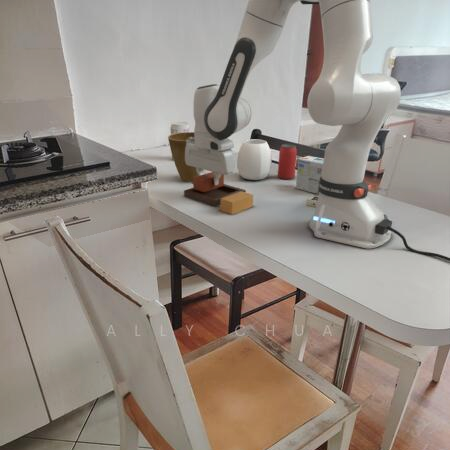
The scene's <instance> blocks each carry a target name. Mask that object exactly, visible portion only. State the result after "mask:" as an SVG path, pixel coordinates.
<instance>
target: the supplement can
mask: <svg viewBox="0 0 450 450" xmlns="http://www.w3.org/2000/svg"><path fill="white" fill-rule="evenodd" d="M169 130H170V135H172V134H176V133H184V132H191V131H190V125H189V123H188V122H186V121H175V122H172V123H171V125H170V129H169ZM171 158H172V159H173V156H172V155H171Z"/></svg>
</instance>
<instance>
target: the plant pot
mask: <svg viewBox="0 0 450 450" xmlns="http://www.w3.org/2000/svg"><path fill="white" fill-rule="evenodd" d="M189 137H193V138H194V131H190V132H184V133H176V134H172V135H171V134H170V135H168V136H167V139H168V143H169V148H170V152H171V157H172V156H173V158H172V160H173V162H174V166H175V168H176V170H177V173H178V175H179V178H180V180H181V181H182V182H185V183H193V177H196V176H199V175H198V173H197V171H196V167H193V166H189V165H186V163H185V147H186V140H187V139H188V138H189ZM202 171H203V172H204V171H205V170H204V169H203V170H202Z"/></svg>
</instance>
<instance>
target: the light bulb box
mask: <svg viewBox="0 0 450 450" xmlns="http://www.w3.org/2000/svg"><path fill="white" fill-rule="evenodd" d="M297 161H298V162H297V171H296V181H295V189H297V190H301V191H305V192H308V193H313V194H317V195H318V187H319V181H320V177H321V176H322V170H323V162H324V157H318V156H317V157H316V156H312V155H306V156H303V157H299V158H298V160H297Z"/></svg>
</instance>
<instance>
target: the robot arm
mask: <svg viewBox="0 0 450 450" xmlns="http://www.w3.org/2000/svg"><path fill="white" fill-rule="evenodd" d="M297 2H300V3H301V5H319V10H320V18H321V27H322V38H323V39H322V40H323V51H324V52H323V62H322V63H323V64H322V67H321V72H320V74H319V77H318V78H317V80H316V81H315V82H314V83H313V84H312V86H311V88H310V90H309V93H308V95H307V102H306V103H307V111H308V114H309V116H310V118H311V120H312V121H314V122H315V123H316V124H319V125H325V126H331V127H338V126H341V127H340V128H339V131H338V132H337V135H335V137H334V138H333V139H332V140H330V142H328V144H327V145H326V148H325V150H324V155H323V159H324V162H323V170H322V176H321V177H320V181H319V187H318V194H317V202H316V206H315V209H314V212H313V215H312V217H311V220H310V222H309V224H308V226H309V228H310V230H312V232H313V235H314V237H316V238H319V239H324V240H328V241H331V242H332V241H333V242H336V243H340V244H344V245H350V246H352V247H353V246H354V247H358V248H362V249H375V248H379V247H381V246H383V245H384V244H386V243H387V242H388V241H389V240H390V239H391V236H392V233H394V234H395V235H397V236H398V237H400V238H401V240H402V242H403V245H404V247H405V248H406V249H407V250H408V251H410V252H412V253H416V254H420V255H424V256H431V257H436V258H438V259H439V258H440V259H443V260H445V261H448V262H450V257H448V256H446V255H443V254H439V253H437V252H428V251H421V250H418V249H414V248H412V247H411V246H410V245H409V244H408V242H407V239H406V237H405V236H404V235H403V234H402V233H401V232H399V231H398V230H396V229H394V228H393V227H392V225H393V221H392V220H389V219H386V218H385V215H384V212H383V211H382V210H381V209H380V208H379V207H378V206H377V205H376V204H375V202H374V201H373V200H372V199H371V197H369V196H368V194H369V190H371V189H372V186H373V185H372V184H369V185H368V184H367V183H366V181H365V174H366V169H367V164H368V159H369V156H370V152H371V149H372V147H373V144H374V141H375V140H376V137H377V136H378V134H379V132H380V130H381V129H382V127H383V125H384V123H385V122H386V121H387V120H388V118H390V116H391V115H393V114H394V113H395V112H396V110H397V109H398V107H399V105H400V102H401V98H402V97H401V96H402V90H401V86H400V83H399V81H398V80H397V79H396V78H395V77H392V76H390V75H386V74H383V73H379V72H378V73H377V72H376V73H362V72H361V63H362V58H363V55H364V54H365V53H366V52H367V51H368V50H369V48H370V47H371V45H372V44H373V41H374V40H373V39H374V32H373V21H372V11H371V1H370V0H248V2H247V5H246V8H245V11H244V15H243V18H242V21H241V25H240V29H239V31H238V35H237V38H236V40H235V43H234V46H233V49H232V52H231V54H230V56H229V59H228V62H227V64H226V67H225V71H224V73H223V76H222V78H221V81H220V84H217V83H212V84H207V85H201V86H199V87H197V88H196V89H195V91H194V95H193V119H194V128H193V132H194V138H193V137H189V138H188V139H187V140H186V147H185V163H186V165H189V166H193V167H196V171H197V173H198V175H199V176H200V175H203V174H204V171H209V172H214V175H215V178H214V179H212V184H213V185H218V184H219V178H220V176H221V174H224V176H228V175H231V174H233V173H234V171H235V153H234V150H232V149H234V147H235V146H234V145H235V144H234V141H232V140H231V139H230V138H229V137H231V136H233V135H234V134H236V133H238V132H240V131H242V130H243V129H244V128H246V127H247V126H248V125H249V124H250V122H251V119H252V109H251V106H250V104H249V103H248V102H247V101H246V100H245V99H243V98H241V96H242V94H243V91H244V88H245V86H246V83H247V80H248V78H249V76H250V74H251V73H252V71H253V70H254V68H255V67H256V66H257V65H258V64H259V63H261V61H263V60H264V59H265V58H267V57H268V56H269V55H270V54H272V52H273V51H274V49H275V48H276V45H277V44H278V42H279V40H280V38H281V35H282V32H283V31H284V26H285V24H286V21H287V18H288V15H289V12H290V11H291V9H292V7H293V6H294V4H296V3H297ZM203 169H204V170H203ZM202 170H203V171H202Z"/></svg>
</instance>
